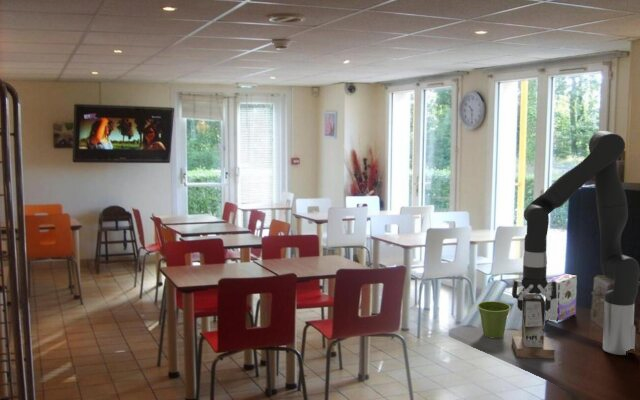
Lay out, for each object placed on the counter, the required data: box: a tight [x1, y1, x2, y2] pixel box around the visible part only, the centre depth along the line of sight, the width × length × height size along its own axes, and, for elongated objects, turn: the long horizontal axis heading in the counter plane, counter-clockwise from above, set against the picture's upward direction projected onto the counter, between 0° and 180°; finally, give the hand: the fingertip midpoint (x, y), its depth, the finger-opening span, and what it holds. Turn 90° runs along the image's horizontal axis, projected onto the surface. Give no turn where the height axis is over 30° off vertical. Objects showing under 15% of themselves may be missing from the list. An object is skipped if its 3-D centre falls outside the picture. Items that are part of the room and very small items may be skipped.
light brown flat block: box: [511, 335, 556, 359], centre depth 228 cm, size 12×12×3 cm
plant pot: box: [476, 300, 512, 339], centre depth 243 cm, size 12×12×11 cm
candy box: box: [544, 273, 578, 321], centre depth 260 cm, size 14×6×16 cm, turn 130°
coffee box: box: [521, 293, 545, 348], centre depth 226 cm, size 9×6×16 cm
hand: (533, 310), depth 226 cm, fingers open, 8 cm apart
